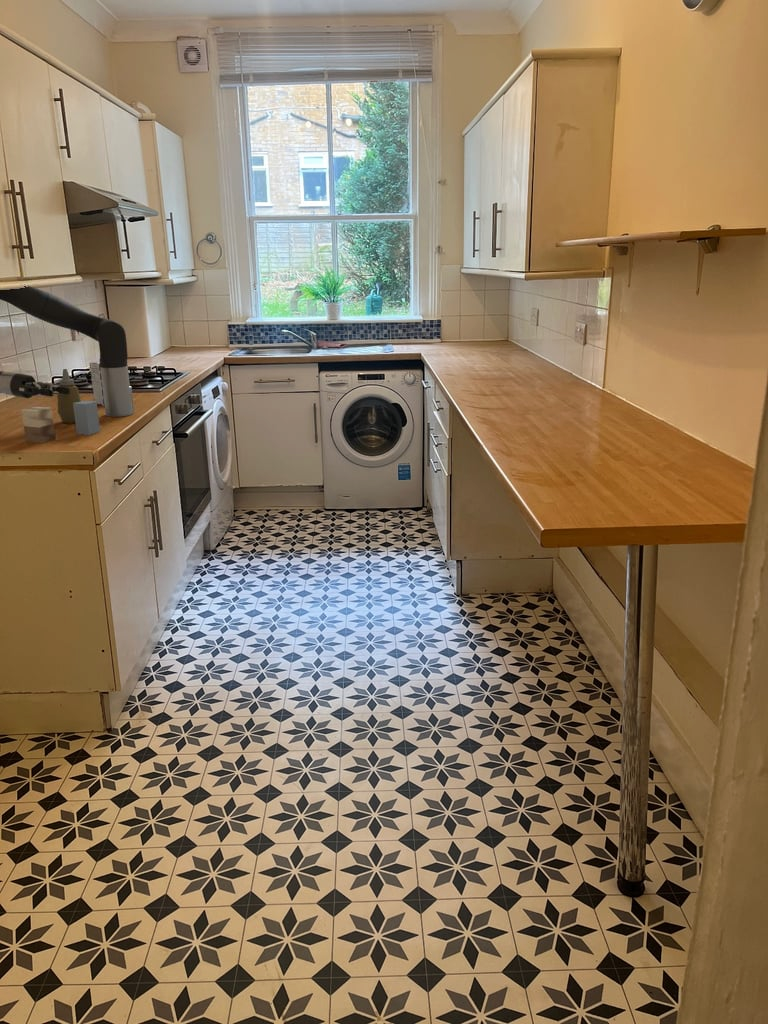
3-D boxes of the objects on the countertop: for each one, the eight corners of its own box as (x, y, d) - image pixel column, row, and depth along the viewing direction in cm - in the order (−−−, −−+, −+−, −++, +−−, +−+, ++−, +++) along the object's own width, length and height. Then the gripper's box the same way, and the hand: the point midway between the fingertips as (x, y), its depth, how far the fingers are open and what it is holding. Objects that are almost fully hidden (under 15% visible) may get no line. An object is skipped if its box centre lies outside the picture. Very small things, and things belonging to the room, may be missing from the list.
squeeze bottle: (55, 421, 267) (48, 369, 261) (78, 418, 272) (71, 367, 266) (65, 424, 261) (58, 371, 256) (88, 421, 267) (81, 369, 261)
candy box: (122, 399, 309) (117, 358, 304) (132, 400, 306) (127, 358, 301) (93, 404, 298) (88, 361, 293) (104, 406, 295) (99, 362, 290)
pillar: (88, 431, 251) (84, 400, 248) (100, 432, 250) (96, 401, 247) (77, 434, 247) (72, 403, 244) (89, 435, 245) (85, 404, 242)
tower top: (38, 422, 240) (36, 406, 239) (53, 423, 238) (51, 407, 237) (23, 426, 235) (21, 409, 234) (38, 427, 233) (36, 411, 231)
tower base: (41, 438, 242) (38, 422, 240) (55, 439, 240) (53, 423, 238) (26, 442, 237) (23, 426, 235) (41, 443, 234) (38, 427, 233)
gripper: (1, 374, 243) (47, 382, 240) (31, 372, 257) (74, 379, 254) (1, 397, 245) (46, 405, 242) (31, 394, 259) (74, 402, 256)
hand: (61, 392), depth 248 cm, fingers open, 8 cm apart
